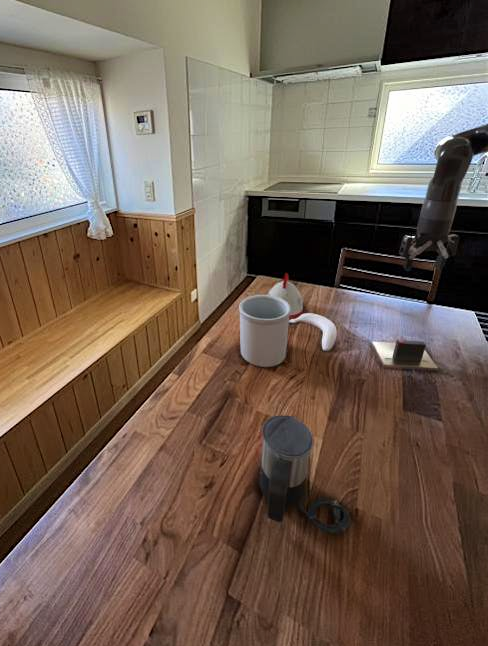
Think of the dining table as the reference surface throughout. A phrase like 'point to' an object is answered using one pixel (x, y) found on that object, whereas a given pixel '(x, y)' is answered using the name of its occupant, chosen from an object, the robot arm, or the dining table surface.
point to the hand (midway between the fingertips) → (422, 269)
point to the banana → (323, 324)
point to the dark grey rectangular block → (409, 350)
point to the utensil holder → (264, 329)
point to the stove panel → (386, 358)
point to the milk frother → (292, 473)
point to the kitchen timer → (289, 296)
